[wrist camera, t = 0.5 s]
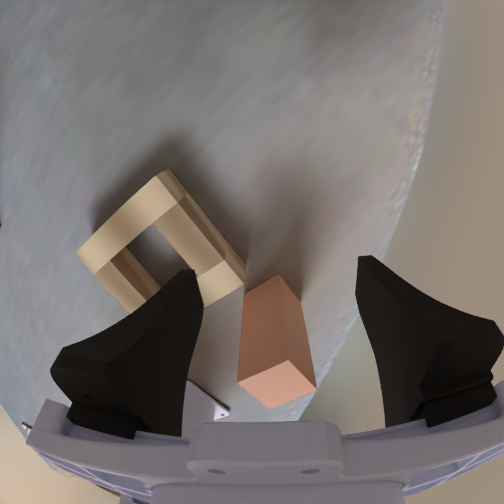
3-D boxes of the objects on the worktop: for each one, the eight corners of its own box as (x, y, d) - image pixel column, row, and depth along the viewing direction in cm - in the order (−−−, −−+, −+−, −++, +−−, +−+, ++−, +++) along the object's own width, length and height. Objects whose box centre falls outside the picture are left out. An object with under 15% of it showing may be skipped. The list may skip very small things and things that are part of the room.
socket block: (162, 317, 27) (153, 337, 24) (92, 239, 24) (75, 253, 21) (246, 265, 24) (244, 284, 21) (168, 168, 21) (155, 175, 18)
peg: (267, 320, 27) (269, 409, 18) (244, 293, 25) (236, 382, 16) (300, 302, 26) (317, 389, 17) (278, 273, 24) (288, 359, 15)
